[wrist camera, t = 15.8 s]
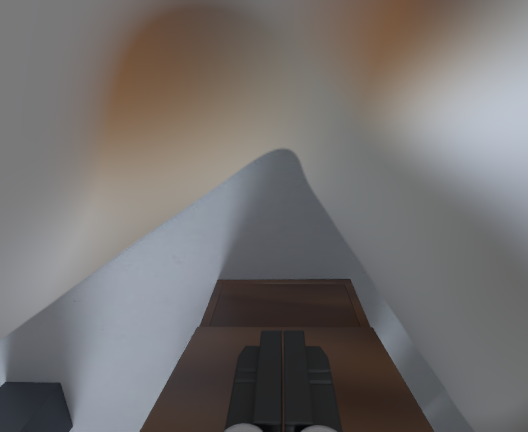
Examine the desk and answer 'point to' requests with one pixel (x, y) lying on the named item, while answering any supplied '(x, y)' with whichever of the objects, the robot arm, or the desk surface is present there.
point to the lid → (342, 369)
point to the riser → (33, 408)
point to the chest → (284, 304)
